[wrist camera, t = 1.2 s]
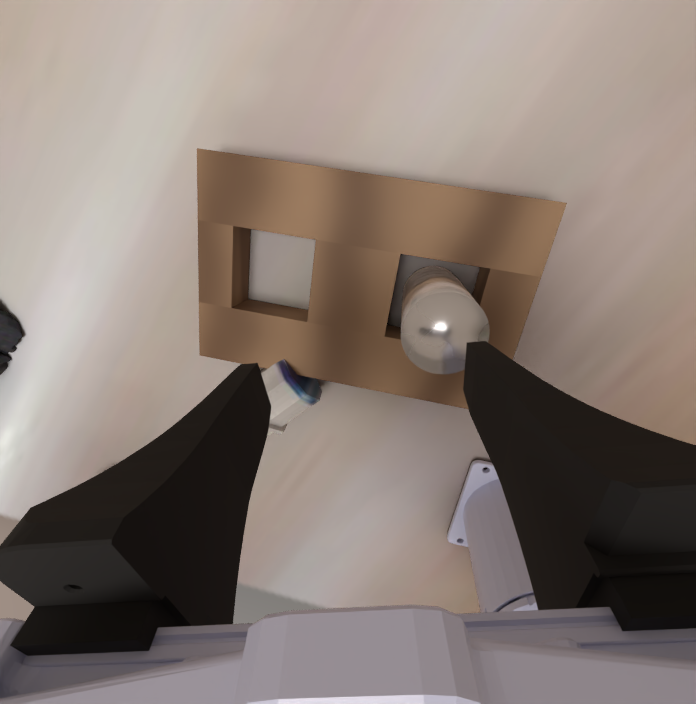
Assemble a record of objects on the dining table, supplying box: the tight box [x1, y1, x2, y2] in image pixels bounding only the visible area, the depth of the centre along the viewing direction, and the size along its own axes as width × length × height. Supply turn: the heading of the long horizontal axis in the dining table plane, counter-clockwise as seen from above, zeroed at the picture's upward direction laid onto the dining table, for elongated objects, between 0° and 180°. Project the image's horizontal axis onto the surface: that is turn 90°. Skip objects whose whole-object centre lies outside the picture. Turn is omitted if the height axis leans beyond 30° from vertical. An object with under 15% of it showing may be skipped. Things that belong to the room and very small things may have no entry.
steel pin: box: [401, 266, 490, 374], centre depth 19 cm, size 4×4×8 cm
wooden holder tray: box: [197, 148, 567, 409], centre depth 22 cm, size 19×12×2 cm, turn 82°
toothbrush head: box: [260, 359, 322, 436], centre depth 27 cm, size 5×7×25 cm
